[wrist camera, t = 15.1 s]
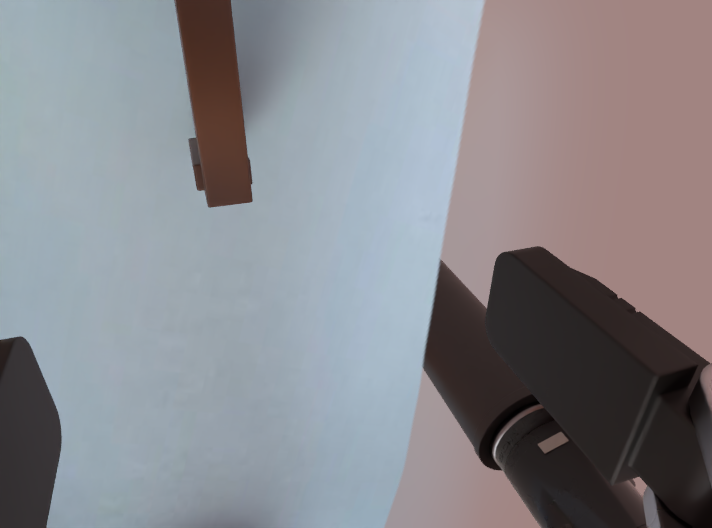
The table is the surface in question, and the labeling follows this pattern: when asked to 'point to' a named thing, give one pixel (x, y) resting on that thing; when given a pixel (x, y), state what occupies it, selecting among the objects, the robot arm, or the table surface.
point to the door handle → (215, 101)
